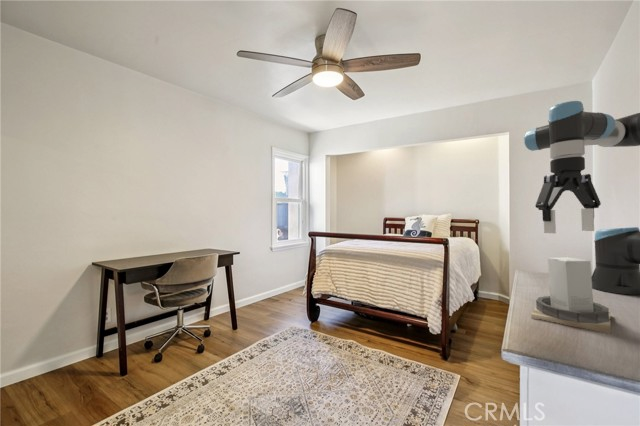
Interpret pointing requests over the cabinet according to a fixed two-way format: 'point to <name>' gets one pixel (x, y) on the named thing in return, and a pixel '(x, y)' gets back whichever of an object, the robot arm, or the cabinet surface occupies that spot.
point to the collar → (573, 315)
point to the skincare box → (570, 284)
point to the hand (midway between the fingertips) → (569, 232)
